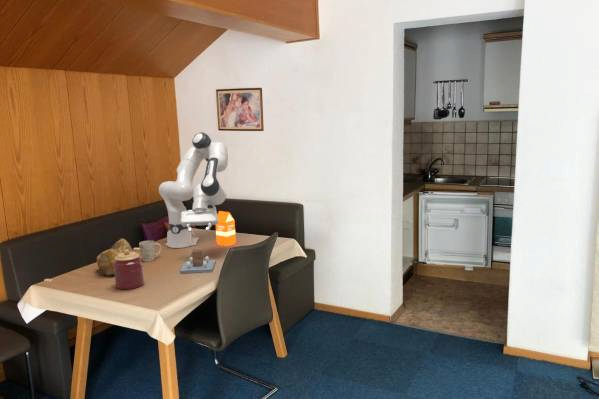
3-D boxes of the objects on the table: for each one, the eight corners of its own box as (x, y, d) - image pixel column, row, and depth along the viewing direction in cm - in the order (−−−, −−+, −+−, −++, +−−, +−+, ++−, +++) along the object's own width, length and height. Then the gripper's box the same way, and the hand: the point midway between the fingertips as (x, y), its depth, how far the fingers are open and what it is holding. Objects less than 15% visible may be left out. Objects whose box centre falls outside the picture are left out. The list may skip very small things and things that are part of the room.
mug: (137, 260, 281) (136, 243, 279) (157, 255, 290) (156, 238, 288) (145, 263, 275) (144, 245, 273) (165, 257, 284) (164, 240, 282)
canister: (144, 287, 237) (140, 251, 234) (114, 291, 234) (110, 254, 231) (144, 279, 250) (140, 244, 246) (116, 282, 246) (112, 247, 243)
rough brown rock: (110, 264, 279) (105, 238, 276) (138, 262, 276) (133, 235, 273) (87, 280, 256) (81, 252, 253) (117, 277, 253) (111, 249, 250)
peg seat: (185, 263, 271) (185, 255, 270) (215, 262, 272) (215, 254, 271) (180, 273, 255) (179, 265, 255) (212, 272, 256) (211, 263, 255)
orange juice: (225, 241, 314) (223, 209, 310) (236, 243, 309) (234, 211, 305) (216, 244, 307) (214, 212, 304) (227, 246, 302) (225, 213, 299)
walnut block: (194, 264, 265) (193, 249, 264) (203, 263, 266) (202, 248, 264) (193, 266, 261) (191, 251, 259) (201, 266, 261) (200, 251, 260)
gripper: (180, 207, 277) (178, 229, 270) (217, 205, 278) (216, 227, 270) (182, 213, 283) (180, 235, 275) (219, 212, 283) (218, 233, 275)
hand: (198, 231), depth 272 cm, fingers open, 8 cm apart
